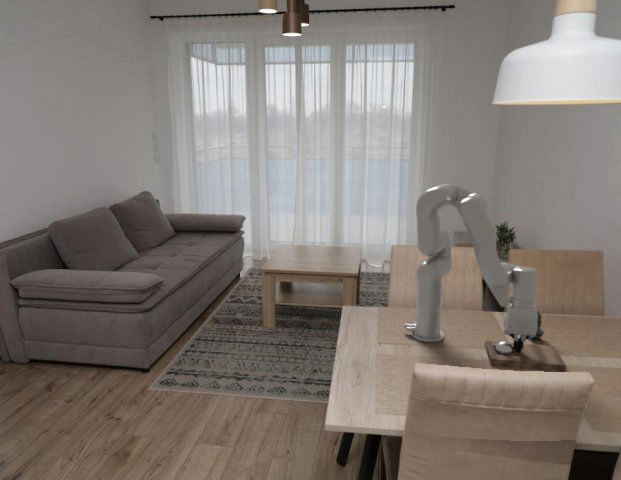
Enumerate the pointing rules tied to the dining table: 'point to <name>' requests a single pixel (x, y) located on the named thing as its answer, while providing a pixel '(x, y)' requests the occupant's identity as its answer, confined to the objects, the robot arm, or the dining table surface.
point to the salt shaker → (539, 331)
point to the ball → (504, 348)
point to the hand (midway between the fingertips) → (517, 350)
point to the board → (527, 357)
